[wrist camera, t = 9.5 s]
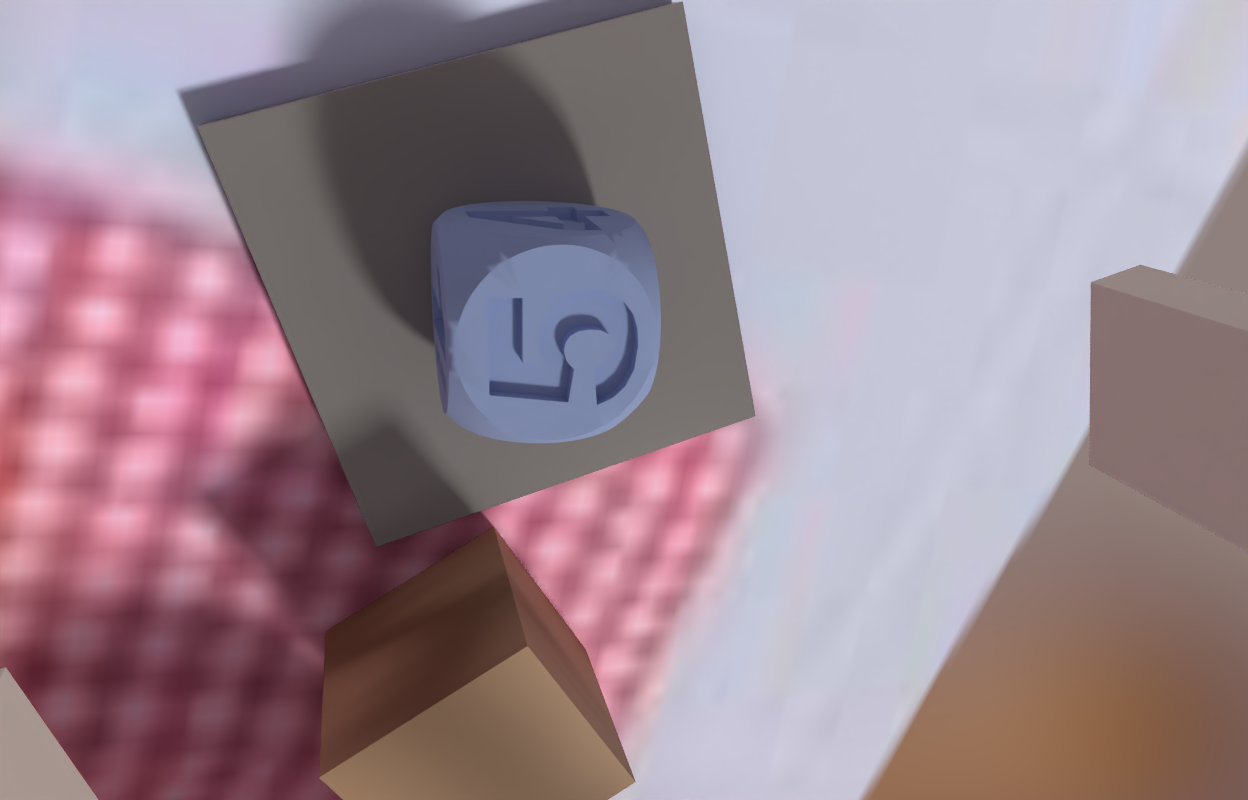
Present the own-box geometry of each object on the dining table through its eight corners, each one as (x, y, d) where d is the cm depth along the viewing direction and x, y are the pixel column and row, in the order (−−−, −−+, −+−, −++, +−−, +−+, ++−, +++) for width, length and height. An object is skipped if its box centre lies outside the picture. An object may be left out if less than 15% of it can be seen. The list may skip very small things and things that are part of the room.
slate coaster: (375, 534, 22) (376, 546, 21) (202, 124, 17) (197, 127, 17) (745, 407, 23) (755, 415, 23) (673, 2, 19) (682, 1, 18)
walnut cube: (434, 743, 25) (451, 899, 20) (325, 629, 22) (318, 777, 18) (585, 647, 25) (635, 782, 20) (493, 524, 22) (527, 646, 18)
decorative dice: (427, 200, 18) (444, 239, 15) (611, 199, 19) (668, 236, 16) (434, 378, 20) (452, 453, 16) (604, 368, 21) (656, 437, 17)
